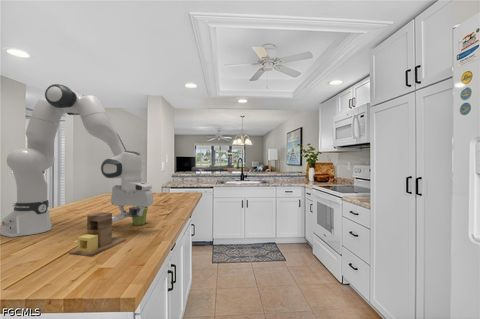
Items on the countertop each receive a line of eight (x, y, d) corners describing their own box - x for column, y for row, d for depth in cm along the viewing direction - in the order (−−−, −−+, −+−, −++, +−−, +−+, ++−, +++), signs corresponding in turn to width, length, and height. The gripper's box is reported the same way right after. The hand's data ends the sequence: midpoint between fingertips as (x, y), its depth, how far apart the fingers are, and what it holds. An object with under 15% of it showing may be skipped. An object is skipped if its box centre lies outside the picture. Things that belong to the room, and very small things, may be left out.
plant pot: (141, 226, 127) (142, 209, 127) (125, 225, 129) (125, 208, 129) (151, 222, 136) (152, 206, 136) (136, 221, 138) (136, 205, 138)
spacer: (89, 252, 90) (89, 238, 90) (77, 251, 91) (77, 237, 91) (97, 248, 94) (98, 235, 94) (86, 247, 95) (86, 234, 95)
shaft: (103, 229, 97) (103, 219, 97) (94, 228, 98) (94, 218, 98) (140, 215, 121) (140, 207, 121) (133, 215, 121) (133, 207, 121)
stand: (68, 253, 91) (69, 218, 91) (105, 238, 108) (105, 209, 108) (92, 256, 88) (92, 220, 88) (126, 240, 106) (126, 210, 106)
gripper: (107, 185, 116) (107, 215, 116) (147, 187, 112) (147, 217, 112) (117, 184, 123) (117, 212, 123) (154, 185, 118) (154, 214, 118)
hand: (131, 215), depth 117 cm, fingers open, 7 cm apart
